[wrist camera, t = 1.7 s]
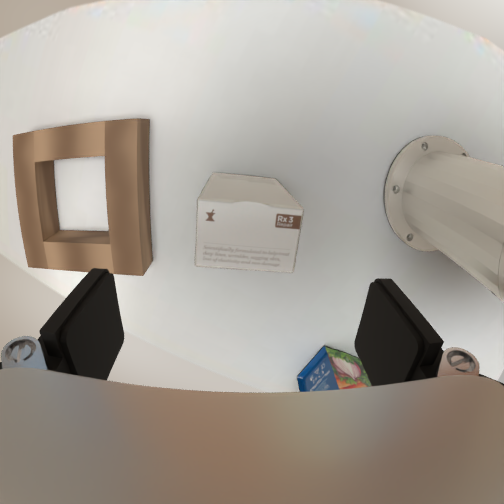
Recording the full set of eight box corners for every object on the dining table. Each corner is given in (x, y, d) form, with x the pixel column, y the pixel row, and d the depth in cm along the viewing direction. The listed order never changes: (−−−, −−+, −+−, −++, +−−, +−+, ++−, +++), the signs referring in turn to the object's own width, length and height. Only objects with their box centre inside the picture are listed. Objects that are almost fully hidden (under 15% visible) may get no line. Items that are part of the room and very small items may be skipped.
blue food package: (361, 397, 40) (411, 544, 17) (296, 376, 37) (329, 561, 14) (389, 368, 38) (458, 519, 15) (325, 343, 35) (386, 541, 12)
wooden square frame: (149, 119, 25) (137, 118, 22) (152, 260, 31) (143, 275, 27) (32, 132, 25) (12, 135, 21) (44, 254, 30) (28, 267, 27)
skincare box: (209, 215, 29) (188, 273, 18) (212, 168, 27) (191, 197, 16) (274, 221, 29) (293, 281, 18) (279, 174, 28) (305, 207, 17)
